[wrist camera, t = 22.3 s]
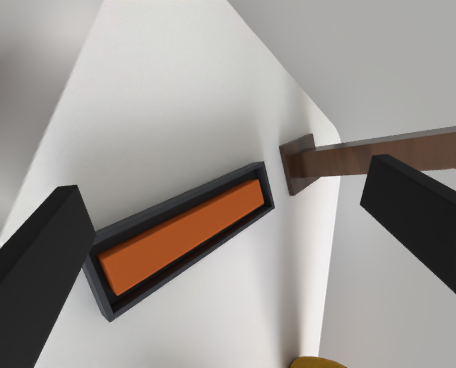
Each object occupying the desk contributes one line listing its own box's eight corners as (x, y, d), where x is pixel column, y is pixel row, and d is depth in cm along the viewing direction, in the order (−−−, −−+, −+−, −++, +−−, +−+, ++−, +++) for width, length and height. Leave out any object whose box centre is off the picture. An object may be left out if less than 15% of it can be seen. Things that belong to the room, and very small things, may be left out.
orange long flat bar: (109, 290, 26) (117, 296, 24) (95, 255, 25) (102, 259, 23) (253, 202, 41) (264, 203, 40) (248, 179, 41) (258, 179, 39)
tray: (101, 314, 26) (109, 323, 24) (71, 242, 24) (77, 245, 22) (264, 207, 44) (275, 208, 42) (253, 162, 42) (264, 161, 41)
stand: (287, 197, 49) (532, 199, 27) (275, 147, 47) (530, 104, 25) (318, 175, 58) (520, 163, 36) (310, 133, 56) (519, 92, 34)
